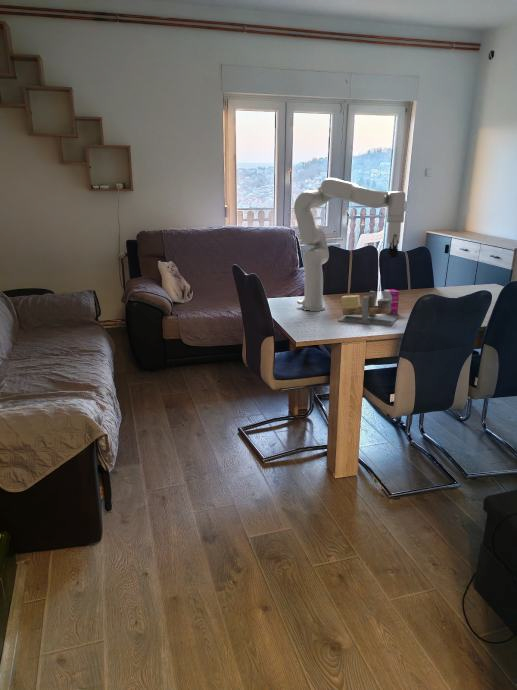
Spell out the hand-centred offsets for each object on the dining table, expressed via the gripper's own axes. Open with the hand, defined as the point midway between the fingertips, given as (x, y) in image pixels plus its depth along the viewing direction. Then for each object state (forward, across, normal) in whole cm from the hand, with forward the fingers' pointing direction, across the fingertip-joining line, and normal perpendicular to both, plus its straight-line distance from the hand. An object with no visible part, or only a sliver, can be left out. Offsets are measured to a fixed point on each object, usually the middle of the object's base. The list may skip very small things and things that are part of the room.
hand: (392, 255), depth 245 cm
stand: (+30, +8, -10) cm, 32 cm away
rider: (+26, +6, -18) cm, 32 cm away
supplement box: (+30, -7, +1) cm, 31 cm away
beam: (+26, +8, -11) cm, 30 cm away
